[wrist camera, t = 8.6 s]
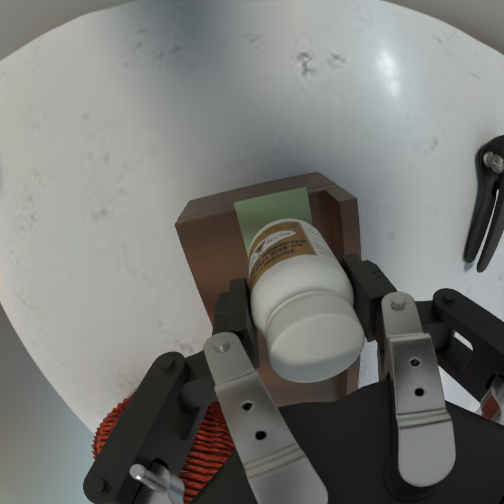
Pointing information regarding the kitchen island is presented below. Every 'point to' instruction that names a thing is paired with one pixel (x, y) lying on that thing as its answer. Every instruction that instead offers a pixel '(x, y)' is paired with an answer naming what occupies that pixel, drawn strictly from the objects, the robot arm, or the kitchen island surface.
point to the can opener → (489, 204)
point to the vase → (200, 455)
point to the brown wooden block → (237, 247)
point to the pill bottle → (302, 302)
